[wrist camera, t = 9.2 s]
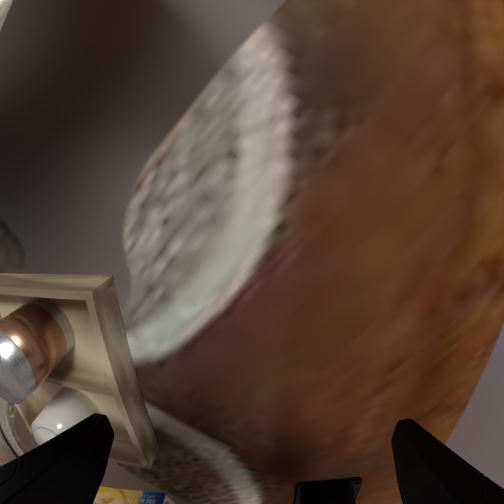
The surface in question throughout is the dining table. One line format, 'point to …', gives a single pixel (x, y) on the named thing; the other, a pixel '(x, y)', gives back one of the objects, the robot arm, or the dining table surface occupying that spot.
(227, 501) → the dining table surface
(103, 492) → the blue food box
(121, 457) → the beige wooden tray
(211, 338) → the dining table surface
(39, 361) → the can
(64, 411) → the jar
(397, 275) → the dining table surface
